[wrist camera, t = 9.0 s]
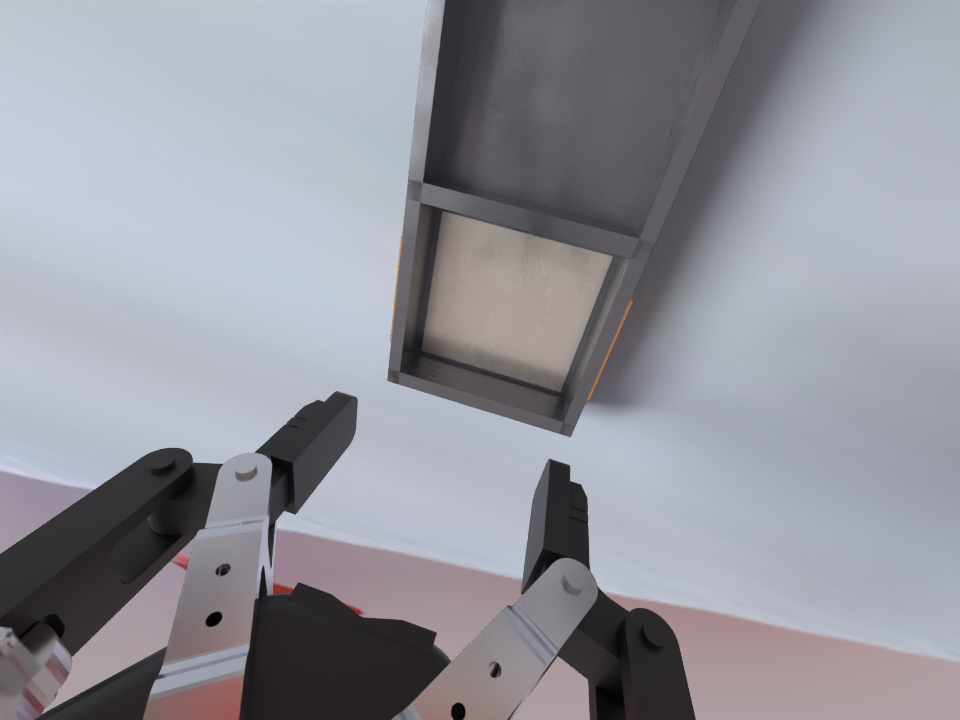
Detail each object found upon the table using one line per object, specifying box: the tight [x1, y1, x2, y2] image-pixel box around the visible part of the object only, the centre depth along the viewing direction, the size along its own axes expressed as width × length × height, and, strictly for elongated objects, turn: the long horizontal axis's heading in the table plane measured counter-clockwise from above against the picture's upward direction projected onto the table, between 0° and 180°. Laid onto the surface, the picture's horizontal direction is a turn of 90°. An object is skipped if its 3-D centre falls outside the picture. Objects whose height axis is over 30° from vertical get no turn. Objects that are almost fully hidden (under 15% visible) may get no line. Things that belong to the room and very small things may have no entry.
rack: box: [387, 0, 761, 437], centre depth 22 cm, size 25×14×4 cm, turn 168°
